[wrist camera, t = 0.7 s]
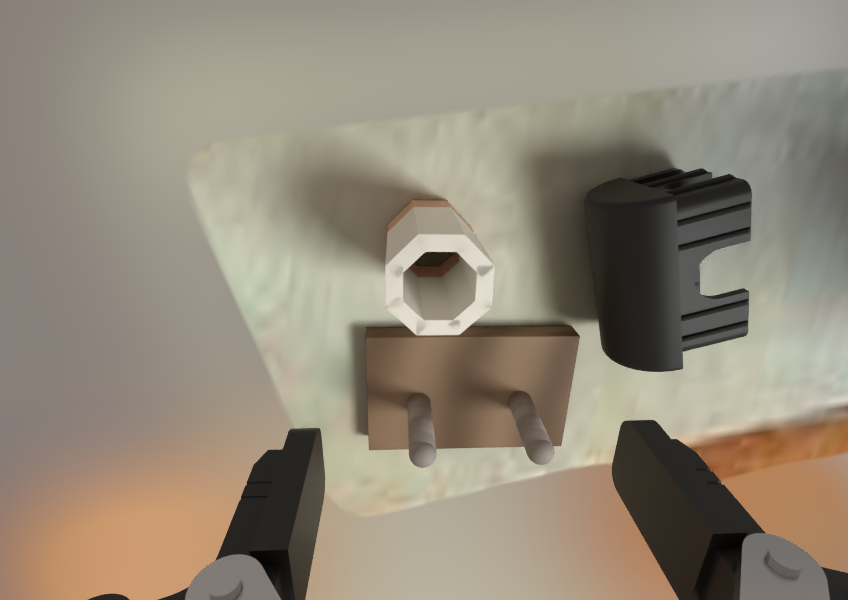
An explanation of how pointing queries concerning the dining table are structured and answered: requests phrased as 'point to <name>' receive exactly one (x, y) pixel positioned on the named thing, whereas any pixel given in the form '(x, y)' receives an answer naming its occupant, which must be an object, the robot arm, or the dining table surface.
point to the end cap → (664, 264)
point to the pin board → (469, 389)
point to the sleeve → (436, 270)
